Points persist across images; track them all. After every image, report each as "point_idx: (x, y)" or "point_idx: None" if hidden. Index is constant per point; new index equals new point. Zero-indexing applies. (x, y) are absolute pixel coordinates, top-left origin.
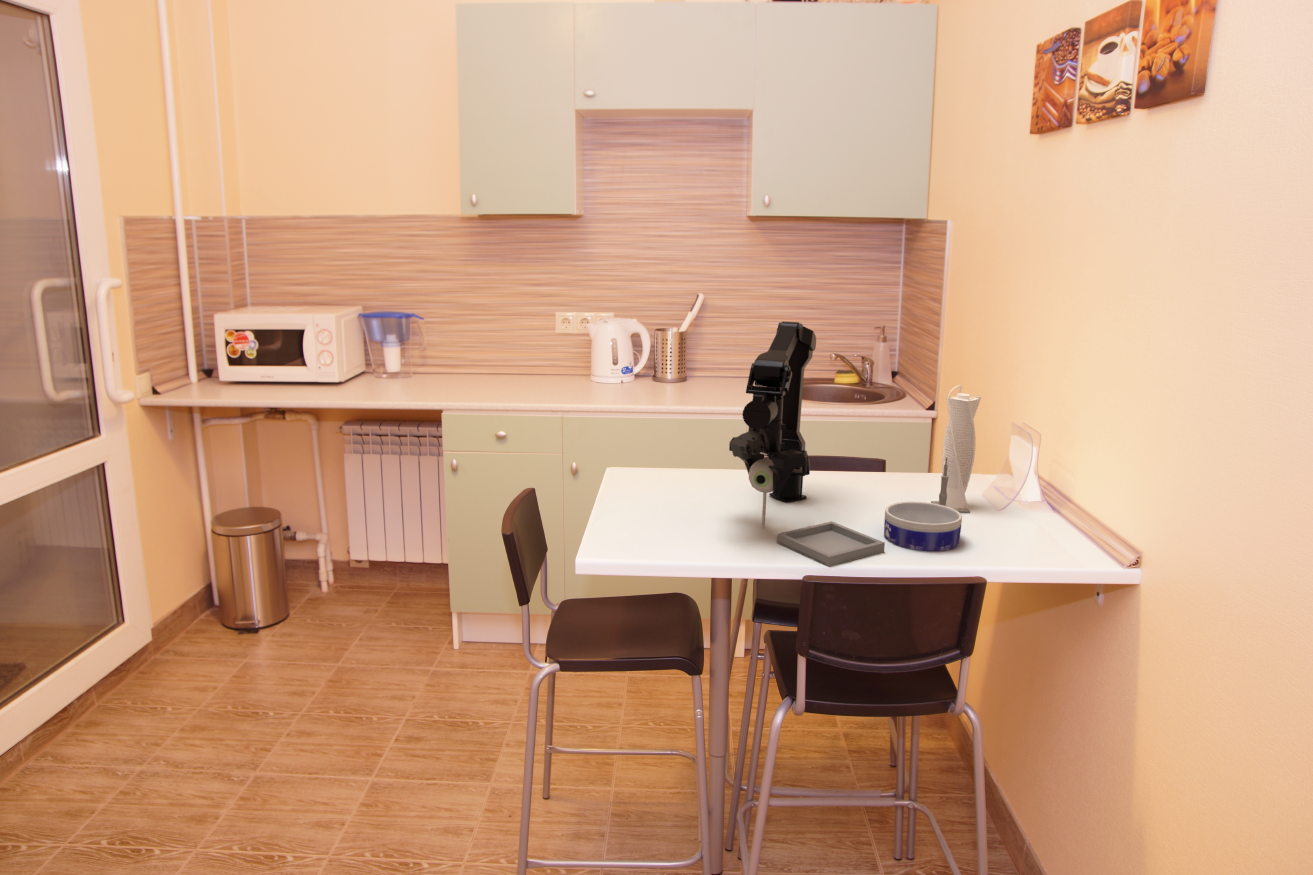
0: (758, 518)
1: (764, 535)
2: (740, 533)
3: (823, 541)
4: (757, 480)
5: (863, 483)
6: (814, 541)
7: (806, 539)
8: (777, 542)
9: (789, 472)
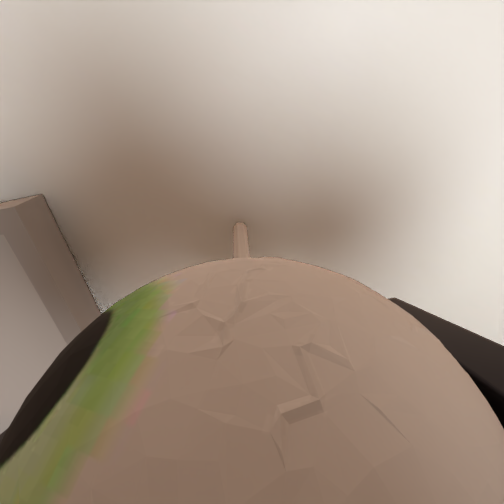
0: (355, 261)
1: (151, 188)
2: (207, 87)
3: (14, 352)
4: (99, 326)
5: None
6: (15, 326)
7: (42, 311)
8: (37, 195)
9: None
